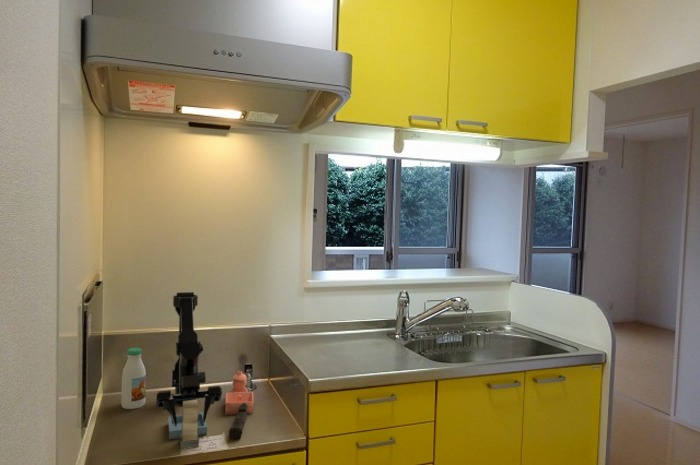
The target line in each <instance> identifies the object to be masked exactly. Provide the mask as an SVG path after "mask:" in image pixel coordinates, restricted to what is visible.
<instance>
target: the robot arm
mask: <svg viewBox="0 0 700 465" xmlns="http://www.w3.org/2000/svg"><path fill="white" fill-rule="evenodd" d="M198 298H199V297H198V295H197V294H195V293H194V292H193V291H190V292H189V291H187V292H185V291H184V292H183V291H182V292H181V291H180V292H176V294H175V295H173V296H172V306H173V307H174V310H175V312H176V314H177V316H178V317H179V318H178V337H177V342H175V355H176V356H178V357H177V359H176V361H175V363H174V366H173V369H172V370H171V388H174V393H172V390H170V389H169V390H161V391H158V392H157V393H156V401H155V402H156V407H155V408H158V409H159V408H162V409H163V410H164V411H165V410H166V411H167V412H168V413H169V416H171V418H172V420H173V423H174V425H175V426H177V419H176V416H177V413H176V408H175V407H176V405H175V404H177V405H178V406H183V401H188V400H198V399H204V403H203V412H202V413H203V423H205V420H206V418H207V416H208V411H209V409H210V408H211V405H214V404H215V402H220V401H221V398H222V396H223V395H222V394H223V391H222V389H223V388H222V387H221V386H220V385H211V386H208V387H207V390H206V391H205V390H203V391H200V389H201V384H205V383H206V382H207V380H206V371H200V372H199V361H200V356H201V354H202V352H204V347H203V344H202V343H201V341H199V335H198V333H197V332H196V331H195V326H194V324H195V322H194V311H195V309H196V307H198V301H199V299H198Z"/></svg>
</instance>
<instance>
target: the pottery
mask: <svg viewBox="0 0 700 465" xmlns="http://www.w3.org/2000/svg"><path fill="white" fill-rule="evenodd" d="M232 379H233V381H232V386H233V388H231V390H230V392H226V393H225V394H226V395H225V403H224V404H225V407H224V415H237V414H238V411H239V407H240V406H241V405H242V404H244V403H246V405H247V414H254V405H255V403H254V400H255V399H254V391H249V390H248V388H247V384H248V382H247V375H246V374H245V373H243V371H241V370H239V371H237V373H236V374H234V375H233V376H232Z"/></svg>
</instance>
